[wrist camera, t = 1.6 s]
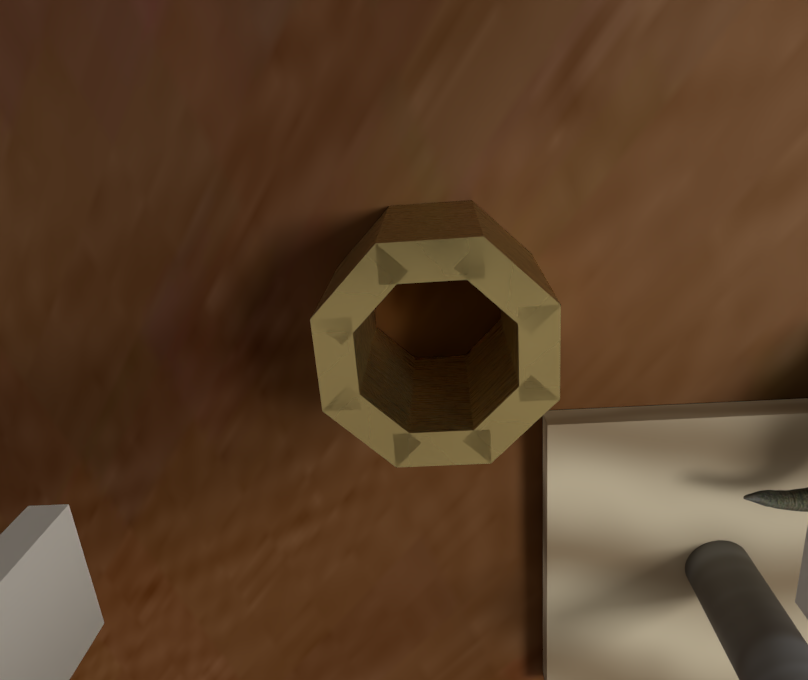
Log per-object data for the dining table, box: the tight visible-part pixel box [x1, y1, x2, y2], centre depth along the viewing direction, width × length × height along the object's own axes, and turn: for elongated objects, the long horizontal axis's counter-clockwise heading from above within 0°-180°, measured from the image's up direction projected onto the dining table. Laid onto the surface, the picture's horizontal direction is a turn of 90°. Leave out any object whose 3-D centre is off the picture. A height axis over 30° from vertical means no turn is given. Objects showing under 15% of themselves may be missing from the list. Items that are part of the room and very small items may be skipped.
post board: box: [543, 398, 808, 680], centre depth 23 cm, size 14×14×12 cm
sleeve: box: [310, 200, 561, 467], centre depth 22 cm, size 7×7×6 cm
